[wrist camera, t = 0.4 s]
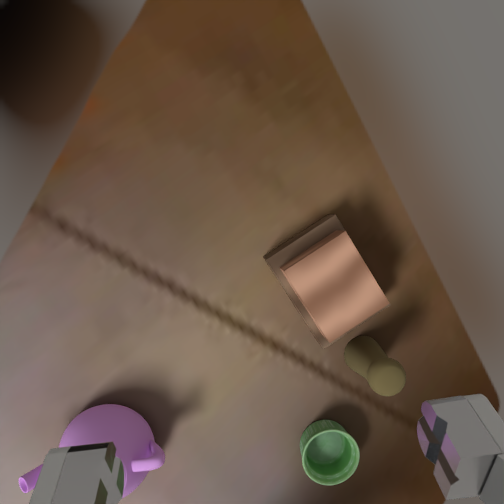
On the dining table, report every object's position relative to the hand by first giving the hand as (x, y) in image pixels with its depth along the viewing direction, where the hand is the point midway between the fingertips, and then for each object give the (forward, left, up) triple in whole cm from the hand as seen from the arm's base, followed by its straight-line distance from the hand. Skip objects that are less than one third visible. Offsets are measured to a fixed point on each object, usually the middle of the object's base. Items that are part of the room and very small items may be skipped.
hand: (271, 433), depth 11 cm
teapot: (-15, +32, -52) cm, 63 cm away
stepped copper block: (-12, -10, -52) cm, 54 cm away
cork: (-26, -9, -52) cm, 59 cm away
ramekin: (-35, +4, -52) cm, 63 cm away
